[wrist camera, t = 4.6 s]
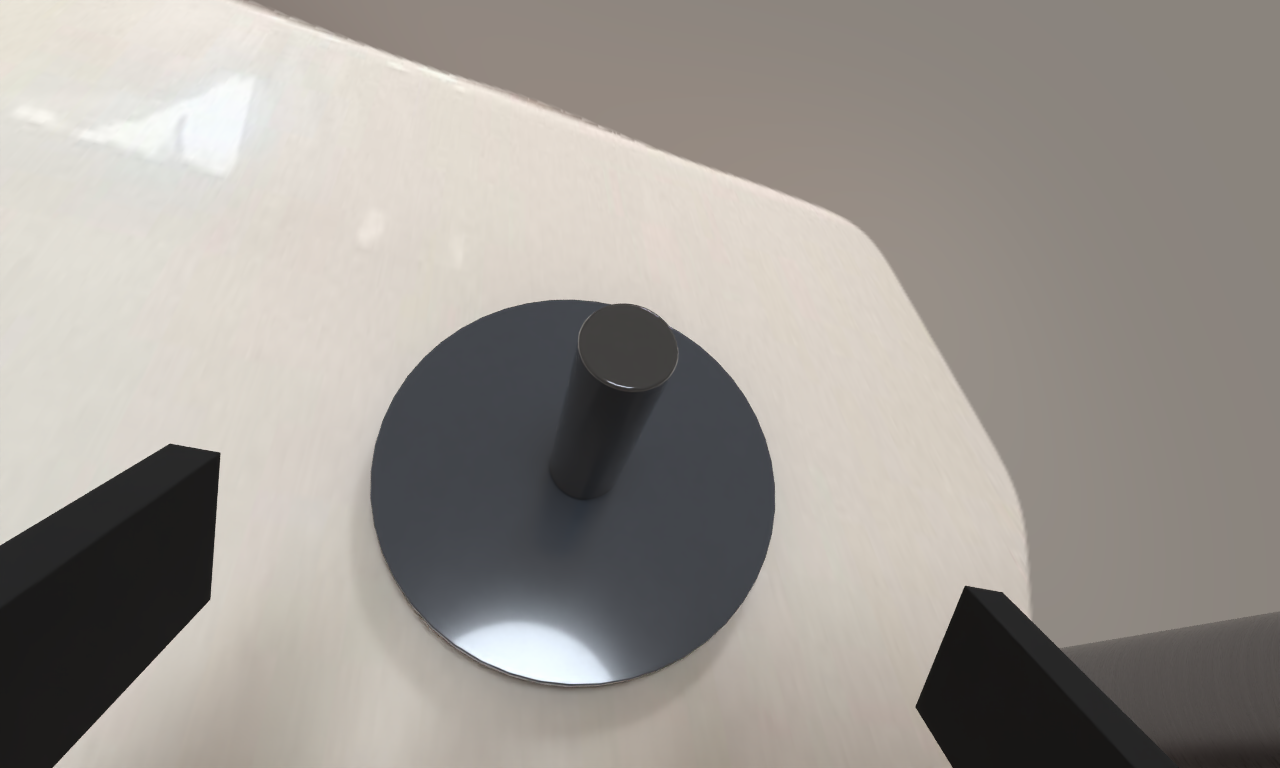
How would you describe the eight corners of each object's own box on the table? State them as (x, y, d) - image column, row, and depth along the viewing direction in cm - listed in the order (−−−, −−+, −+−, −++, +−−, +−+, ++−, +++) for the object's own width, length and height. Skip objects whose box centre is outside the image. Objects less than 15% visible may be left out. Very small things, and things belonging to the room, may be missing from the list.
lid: (807, 411, 29) (940, 275, 20) (683, 770, 21) (812, 787, 13) (505, 262, 29) (515, 68, 21) (281, 563, 22) (157, 450, 13)
